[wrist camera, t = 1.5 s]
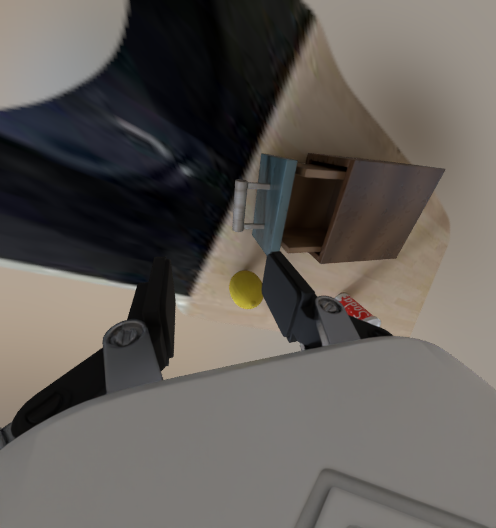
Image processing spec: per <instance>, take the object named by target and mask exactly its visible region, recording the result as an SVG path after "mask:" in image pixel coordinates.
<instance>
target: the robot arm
mask: <svg viewBox="0 0 496 528" xmlns="http://www.w3.org/2000/svg"><path fill="white" fill-rule="evenodd" d="M262 295H263V297H264V299H265V301H266V303H267V305H268V307H269V309H270V311H271V313H272V315H273V317H274V319H275V321H276V323H277V325H278V327H279V329H280V331H281V333H282V335H283V336H284V337H287V339H288V341H289V343H291V342H296V341H298V342H300V347H301V351H299V352H294V353H289V354H284V355H280V356H275V357H270V358H265V359H260V360H255V361H250V362H245V363H241V364H236V365H231V366H226V367H222V368H218V369H213V370H208V371H203V372H198V373H194V374H189V375H184V376H179V377H175V378H171V379H166V380H163V377H162V374H161V371H162V370H163V369H164V368H165V367H166V366H168V365H169V358H172V357H173V356H174V332H175V305H176V303H175V292H174V284H173V276H172V268H171V260H170V259H166V257H154V261H153V265H152V270H151V274H150V279H149V282H146V283H138V285H137V288H136V292H135V295H134V298H133V302H132V305H131V308H130V312H129V315H128V319H127V320H125V321H122V322H120V323H118V324H116V325H114V326H113V327H111V328H110V329H109V330H108V331H107V332H106V334H105V335H104V337H103V348H102V349H100V350H99V351H97V352H96V353H94V354H93V355H92V356H90V357H89V358H87V359H86V360H84V361H83V362H81V363H80V364H79V365H77V366H76V367H74V368H73V369H71V370H70V371H69V372H67V373H66V374H64V375H63V376H62V377H60V378H59V379H57V380H56V381H54V382H53V383H52V384H50V385H49V386H47V387H46V388H44V389H43V390H42V391H40V392H39V393H37V394H36V395H35V396H33V397H32V398H31V399H30V400H29V401H27V402H26V403H25V404H24V405H23V406H22V408H21V409H20V410H19V411H18V412H17V414H16V416H15V417H14V419H13V421H12V422H11V423H9V424H8V425H7V426H5V427H4V428H0V528H496V390H495V389H494V388H493V387H491V386H490V385H489V384H488V383H487V382H486V381H484V380H483V379H482V378H481V377H479V376H478V375H477V374H476V373H474V372H473V371H472V370H471V369H469V368H468V367H467V366H465V365H464V364H463V363H461V362H460V361H459V360H458V359H456V358H455V357H453V356H452V355H451V354H449V353H448V352H446V351H445V350H443V349H442V348H440V347H439V346H437V345H435V344H432V343H430V342H427V341H423V340H420V339H415V338H409V337H400V336H393V335H392V334H391V333H389V332H388V331H386V330H385V329H382V328H380V327H378V326H375V325H373V324H370V323H368V322H365V321H363V320H360V319H358V318H355V317H353V316H350V315H348V313H347V312H346V310H345V308H344V306H343V305H342V303H340V302H339V301H338V300H336V299H335V298H332V297H329V296H319V297H317V296H316V295H315V292H314V290H313V289H312V288H311V287H310V286H309V285H308V283H307V282H306V281H305V280H304V279H303V277H302V276H301V275H300V274H299V273H298V272H297V270H296V269H295V268H294V267H293V266H292V264H291V263H290V262H289V261H288V260H287V259H286V257H285V256H284V255H283V254H282V253H281V252H280V251H275V252H270V254H268V255H267V259H266V265H265V271H264V277H263V283H262Z"/></svg>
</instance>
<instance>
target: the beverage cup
mask: <svg viewBox="0 0 496 528" xmlns="http://www.w3.org/2000/svg"><path fill="white" fill-rule="evenodd" d="M335 299H336V300H338V301H339V302H340V303H342V305H343V306H344V308H345V310H346V312H347V313H348V315H350V316H353V317H355V318H358V319H360V320H363V321H365V322H368V323H370V324H373V325H375V326H378V327H380V325H381V321H380V320H379V319H378V318H377V317H375V316H373V315H372V314H370V313H369V312H368V311H367V310H366V309H364V308H363V307H362V306H361V305H360V304H359V303H357V302H356V301H355V300H354V299H353V298H351V297H350V296H349V295H348V294H346V293H343V294H340V295H338V296H337V297H336V298H335Z"/></svg>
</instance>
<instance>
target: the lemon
mask: <svg viewBox="0 0 496 528" xmlns="http://www.w3.org/2000/svg"><path fill="white" fill-rule="evenodd" d="M229 290H230V294H231V297H232V299H233V300H234V302H235V303H236V304H237V305H238V306H239V307H241V308H244V309H252V308H255V307H257V306H258V305H259V304H260V303H261V301H262V300H263V295H262V282H261V280H260V279H259V277H258V276H257V275H256V274H254V273H253V272H250V271H240V272H238V273H236V274H235V275H234V276H233V277H232V279H231V281H230V285H229Z"/></svg>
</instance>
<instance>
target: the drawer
mask: <svg viewBox="0 0 496 528" xmlns="http://www.w3.org/2000/svg"><path fill="white" fill-rule="evenodd" d="M346 172H347V168H344V167H338V166H326V165H315V164H304V163H297V160H294V159H289V158H284V157H280V156H275V155H271V154H261V162H260V170H259V179H258V183H251V182H248V181H246V180H240V179H238V180H235V196H234V213H233V231H235V232H242V231H243V229H253V231H252V236H253V237H254V238H255V240H256V241H257V243H258V244H259V246H260V247H261V248H262V250H263V251H264V253H265V254H266V255H268V254H270V252H275V251H280V246H282V248H283V249H284V250H285V251H286V252H287V253H303V252H321V249H322V246H323V243H324V240H325V237H326V234H327V230H328V227H329V224H330V221H331V218H332V215H333V212H334V209H335V206H336V203H337V199H338V196H339V193H340V190H341V187H342V184H343V181H344V178H345V175H346ZM247 188H248V189H257V196H256V205H255V214H254V223H244V218H245V206H246V195H247Z"/></svg>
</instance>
